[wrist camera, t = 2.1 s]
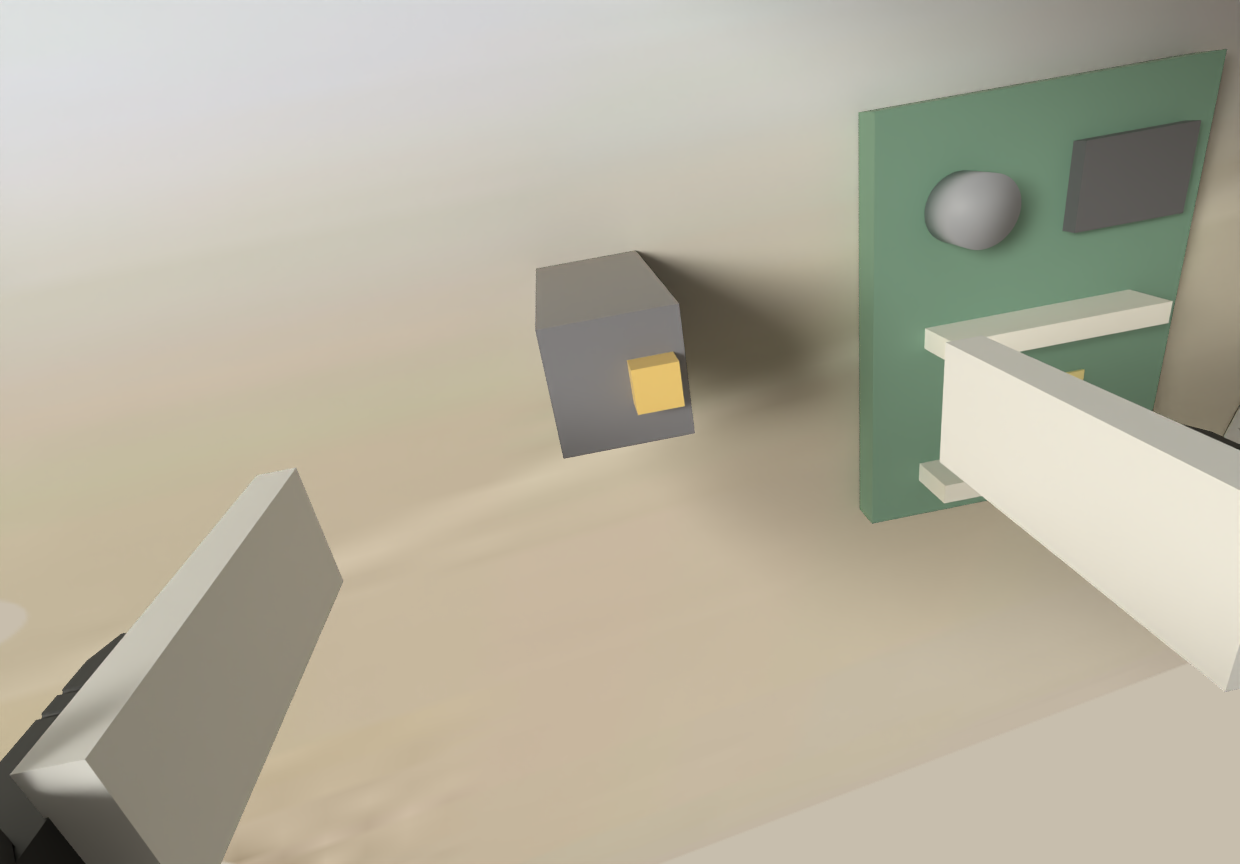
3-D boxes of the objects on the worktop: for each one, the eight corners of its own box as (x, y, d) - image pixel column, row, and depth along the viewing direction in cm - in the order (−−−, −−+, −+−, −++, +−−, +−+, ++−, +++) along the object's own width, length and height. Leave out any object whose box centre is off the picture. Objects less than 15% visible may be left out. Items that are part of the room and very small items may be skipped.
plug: (535, 268, 23) (535, 339, 16) (635, 250, 24) (685, 311, 16) (556, 363, 25) (564, 472, 17) (649, 346, 25) (701, 445, 17)
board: (858, 112, 22) (904, 109, 20) (1194, 52, 23) (1285, 42, 20) (859, 509, 29) (893, 548, 26) (1118, 457, 30) (1179, 491, 27)
